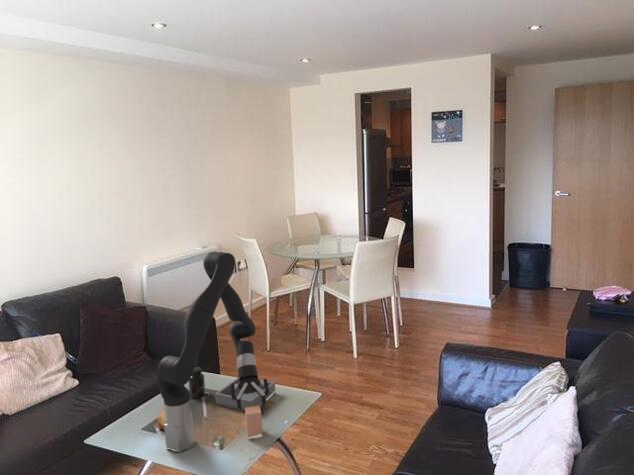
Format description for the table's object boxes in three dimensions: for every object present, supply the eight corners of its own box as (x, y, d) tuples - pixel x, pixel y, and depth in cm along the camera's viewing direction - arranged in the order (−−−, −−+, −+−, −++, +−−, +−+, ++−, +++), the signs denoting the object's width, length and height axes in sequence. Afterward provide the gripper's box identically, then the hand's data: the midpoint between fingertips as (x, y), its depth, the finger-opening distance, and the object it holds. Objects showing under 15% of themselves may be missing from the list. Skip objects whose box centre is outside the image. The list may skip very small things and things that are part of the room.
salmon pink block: (262, 437, 192) (261, 412, 191) (247, 439, 191) (246, 414, 190) (261, 429, 198) (259, 405, 196) (246, 432, 197) (244, 407, 195)
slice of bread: (175, 402, 223) (174, 394, 222) (204, 414, 212) (203, 405, 211) (139, 421, 208) (138, 413, 208) (168, 434, 198) (167, 425, 197)
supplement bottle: (203, 398, 225) (201, 372, 222) (187, 399, 225) (185, 372, 223) (207, 391, 231) (205, 365, 229) (191, 391, 231) (189, 366, 229)
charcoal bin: (251, 413, 210) (251, 401, 210) (215, 404, 219) (215, 393, 218) (275, 393, 226) (274, 382, 225) (241, 386, 234) (240, 376, 233)
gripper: (228, 366, 201) (233, 408, 192) (265, 361, 204) (271, 402, 195) (228, 373, 207) (233, 414, 198) (264, 368, 210) (270, 408, 201)
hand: (252, 408), depth 197 cm, fingers open, 8 cm apart
